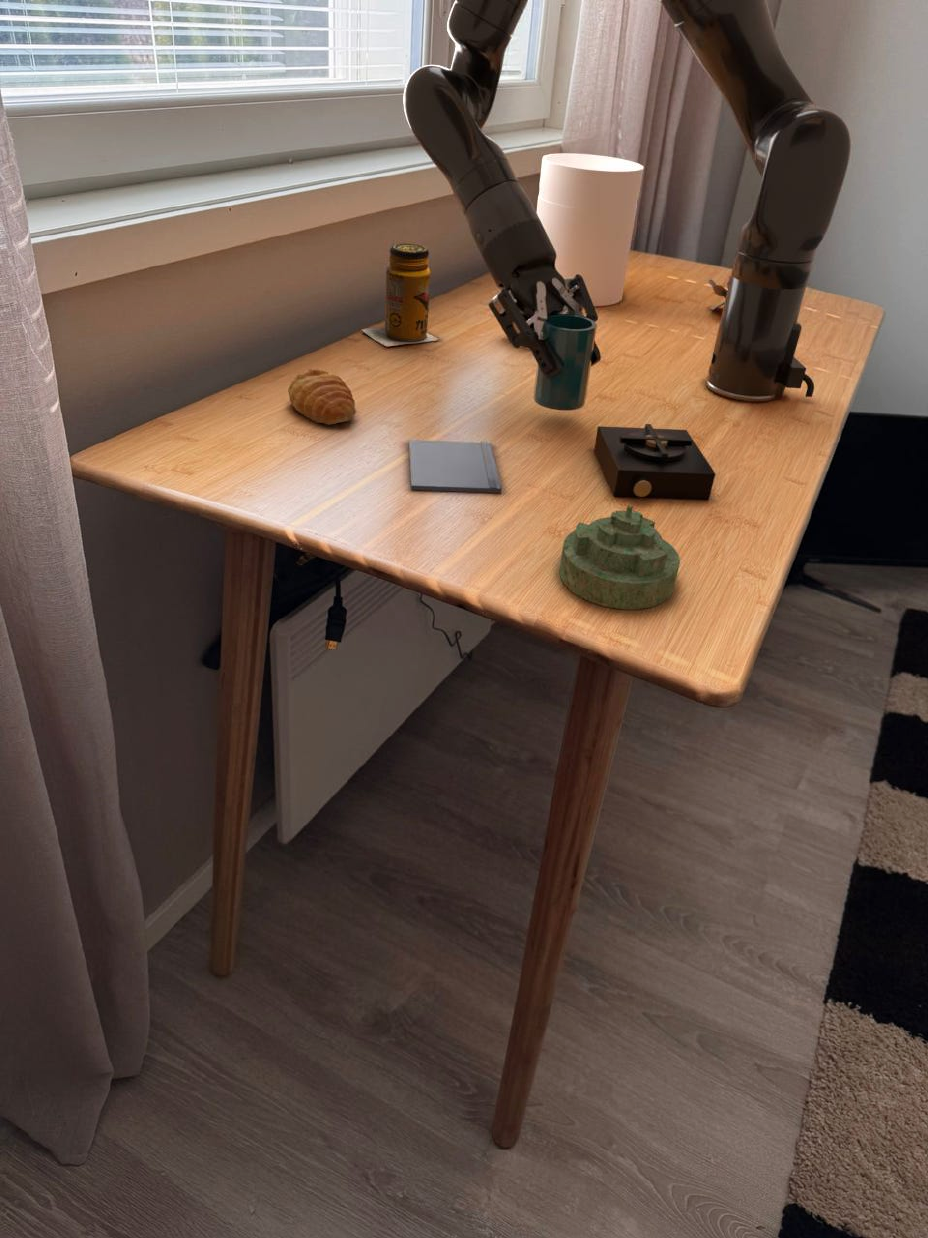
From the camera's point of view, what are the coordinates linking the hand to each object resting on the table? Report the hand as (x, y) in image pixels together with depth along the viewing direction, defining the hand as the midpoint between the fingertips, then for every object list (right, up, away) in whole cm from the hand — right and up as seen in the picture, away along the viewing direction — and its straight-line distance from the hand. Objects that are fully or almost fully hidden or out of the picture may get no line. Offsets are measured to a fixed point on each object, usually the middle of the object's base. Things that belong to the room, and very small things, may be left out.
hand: (575, 368), depth 105 cm
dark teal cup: (-1, -3, +3) cm, 5 cm away
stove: (+7, -13, -6) cm, 16 cm away
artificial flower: (+30, +18, +42) cm, 55 cm away
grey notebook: (-14, -13, -8) cm, 20 cm away
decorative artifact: (+1, -25, -24) cm, 34 cm away
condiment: (-22, +11, +26) cm, 36 cm away
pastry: (-29, -4, +2) cm, 29 cm away
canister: (+6, +27, +52) cm, 59 cm away
